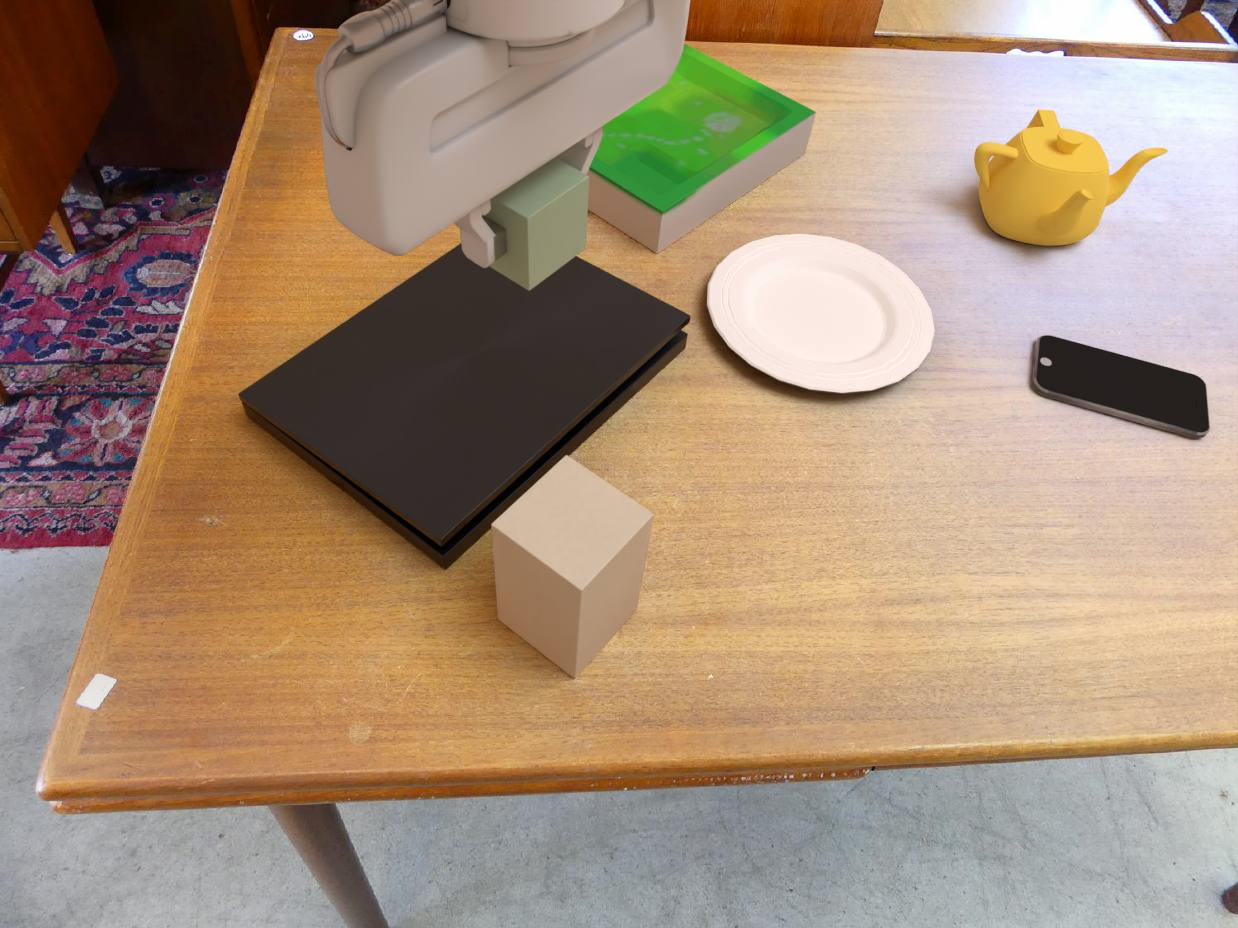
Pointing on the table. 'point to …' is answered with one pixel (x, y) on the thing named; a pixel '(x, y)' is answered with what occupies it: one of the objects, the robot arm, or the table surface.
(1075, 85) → the table surface
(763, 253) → the plate
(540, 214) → the block
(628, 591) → the stand
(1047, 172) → the teapot
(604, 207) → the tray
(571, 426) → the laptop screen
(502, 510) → the laptop
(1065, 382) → the smartphone
